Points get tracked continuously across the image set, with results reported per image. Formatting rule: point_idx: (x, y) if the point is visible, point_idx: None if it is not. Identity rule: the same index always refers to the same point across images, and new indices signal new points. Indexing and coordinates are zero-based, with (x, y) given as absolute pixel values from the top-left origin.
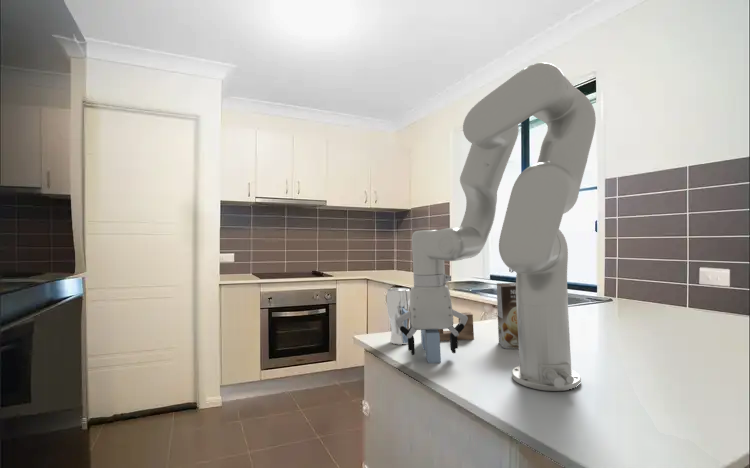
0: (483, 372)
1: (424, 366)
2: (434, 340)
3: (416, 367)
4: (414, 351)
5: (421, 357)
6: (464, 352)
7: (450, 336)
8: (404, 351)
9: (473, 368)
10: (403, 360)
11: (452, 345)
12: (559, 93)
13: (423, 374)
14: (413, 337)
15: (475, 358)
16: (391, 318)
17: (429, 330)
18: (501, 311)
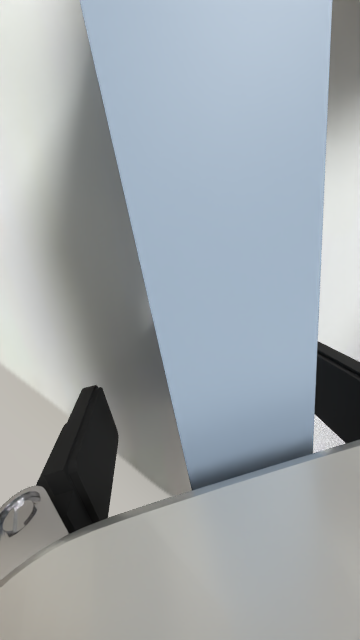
0: (334, 444)
1: (164, 433)
2: None
3: (135, 447)
4: (115, 448)
5: (138, 337)
6: (333, 247)
7: (353, 404)
8: (13, 237)
9: (317, 421)
10: (60, 385)
11: (316, 413)
12: None
13: (168, 491)
14: (91, 508)
15: (351, 328)
16: None
17: None
18: None
